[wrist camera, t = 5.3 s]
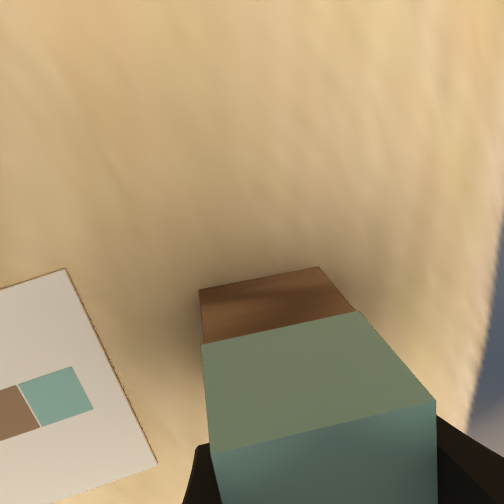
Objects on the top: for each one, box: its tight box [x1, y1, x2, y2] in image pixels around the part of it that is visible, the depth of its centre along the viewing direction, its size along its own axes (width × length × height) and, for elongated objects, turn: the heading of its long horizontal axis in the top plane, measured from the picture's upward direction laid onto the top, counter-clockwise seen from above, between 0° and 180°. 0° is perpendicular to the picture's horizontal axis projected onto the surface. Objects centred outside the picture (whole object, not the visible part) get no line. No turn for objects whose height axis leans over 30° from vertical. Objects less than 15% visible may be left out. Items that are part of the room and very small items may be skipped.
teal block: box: [201, 311, 438, 504], centre depth 13 cm, size 5×5×4 cm
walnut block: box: [199, 267, 355, 344], centre depth 17 cm, size 5×5×4 cm
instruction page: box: [0, 269, 158, 504], centre depth 19 cm, size 7×10×1 cm
